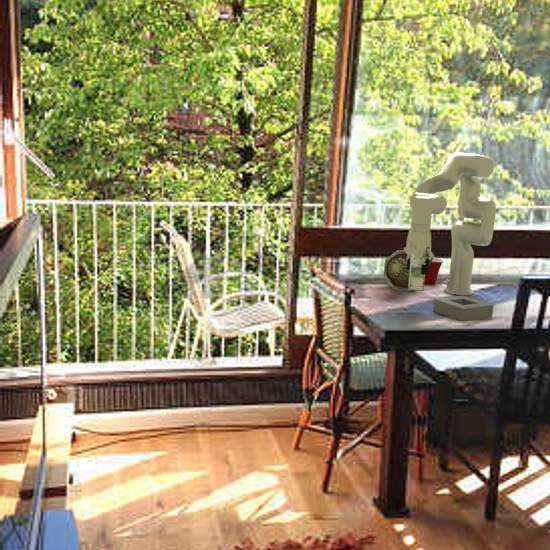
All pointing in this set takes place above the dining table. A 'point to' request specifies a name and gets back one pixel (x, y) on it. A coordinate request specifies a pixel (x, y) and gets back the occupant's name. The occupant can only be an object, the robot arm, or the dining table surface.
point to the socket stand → (463, 308)
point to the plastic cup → (433, 271)
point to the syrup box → (416, 274)
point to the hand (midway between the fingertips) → (417, 271)
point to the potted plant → (397, 271)
